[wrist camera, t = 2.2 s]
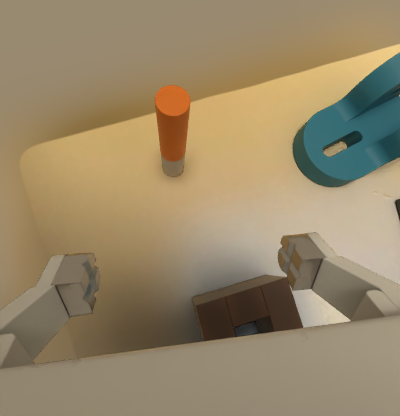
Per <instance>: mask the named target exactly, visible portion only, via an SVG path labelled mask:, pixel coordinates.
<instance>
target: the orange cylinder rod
mask: <svg viewBox="0 0 400 416" xmlns="http://www.w3.org/2000/svg"><path fill="white" fill-rule="evenodd" d="M155 104H156V105H155V106H156V114H157V123H158V132H159V141H160V150H161V158H162V167H163V171H164V173H165V174H167V175H168V176H171V177H175V176H178V175H180V174H181V173H182V171H183V168H184V158H185V149H186V139H187V130H188V120H189V111H190V97H189V95H188V93H187V92H186V91H185V90H184V89H182V88H181V87H179V86H174V85H169V86H165V87H163V88H161V89H160V90H159V91H158V92H157V94H156V97H155Z"/></svg>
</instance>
